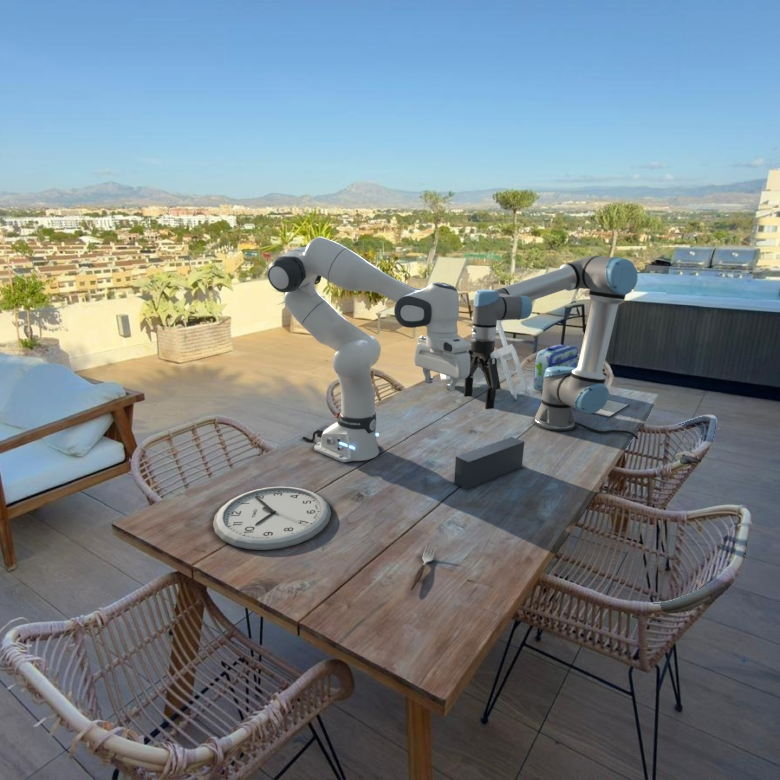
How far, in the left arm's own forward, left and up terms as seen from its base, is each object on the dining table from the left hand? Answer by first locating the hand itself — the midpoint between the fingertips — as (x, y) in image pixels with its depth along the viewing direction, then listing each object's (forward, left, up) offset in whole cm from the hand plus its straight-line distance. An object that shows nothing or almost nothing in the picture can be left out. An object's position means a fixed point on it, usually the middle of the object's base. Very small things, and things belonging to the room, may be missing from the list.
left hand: (439, 386), depth 154 cm
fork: (+19, -45, -28) cm, 56 cm away
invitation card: (+33, +97, -28) cm, 106 cm away
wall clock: (-25, -46, -28) cm, 59 cm away
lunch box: (+8, +111, -28) cm, 115 cm away
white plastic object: (-20, +87, -28) cm, 93 cm away
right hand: (+4, +22, -10) cm, 25 cm away
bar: (+15, +8, -28) cm, 33 cm away
